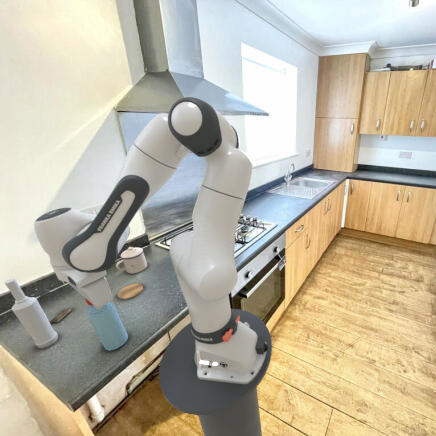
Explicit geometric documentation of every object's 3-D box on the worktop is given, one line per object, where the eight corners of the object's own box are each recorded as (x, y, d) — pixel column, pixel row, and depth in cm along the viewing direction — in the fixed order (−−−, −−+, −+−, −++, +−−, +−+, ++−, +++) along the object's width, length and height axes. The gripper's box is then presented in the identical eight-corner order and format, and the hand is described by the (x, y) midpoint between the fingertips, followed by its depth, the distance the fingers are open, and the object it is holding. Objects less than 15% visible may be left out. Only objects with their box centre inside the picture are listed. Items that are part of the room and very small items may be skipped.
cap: (85, 307, 66) (82, 300, 65) (89, 298, 70) (86, 291, 69) (102, 302, 68) (99, 295, 67) (105, 294, 71) (102, 287, 70)
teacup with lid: (142, 260, 118) (135, 240, 113) (151, 266, 113) (145, 246, 109) (115, 273, 109) (107, 252, 104) (124, 280, 104) (116, 258, 99)
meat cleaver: (76, 311, 88) (66, 308, 89) (75, 308, 88) (65, 306, 89) (37, 336, 78) (27, 333, 79) (36, 333, 77) (26, 330, 78)
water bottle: (132, 335, 78) (112, 290, 70) (114, 352, 72) (90, 305, 64) (118, 331, 80) (96, 286, 72) (99, 348, 74) (74, 301, 66)
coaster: (148, 286, 100) (147, 285, 100) (129, 301, 92) (129, 300, 92) (132, 282, 103) (131, 281, 102) (112, 296, 95) (112, 295, 94)
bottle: (40, 351, 73) (-1, 289, 63) (34, 344, 75) (-7, 283, 65) (61, 338, 77) (25, 278, 67) (55, 332, 79) (19, 273, 69)
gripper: (48, 260, 66) (67, 298, 71) (79, 285, 56) (98, 326, 62) (75, 250, 70) (92, 286, 76) (108, 271, 61) (124, 310, 67)
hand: (95, 304), depth 69 cm, fingers closed on cap, 4 cm apart
